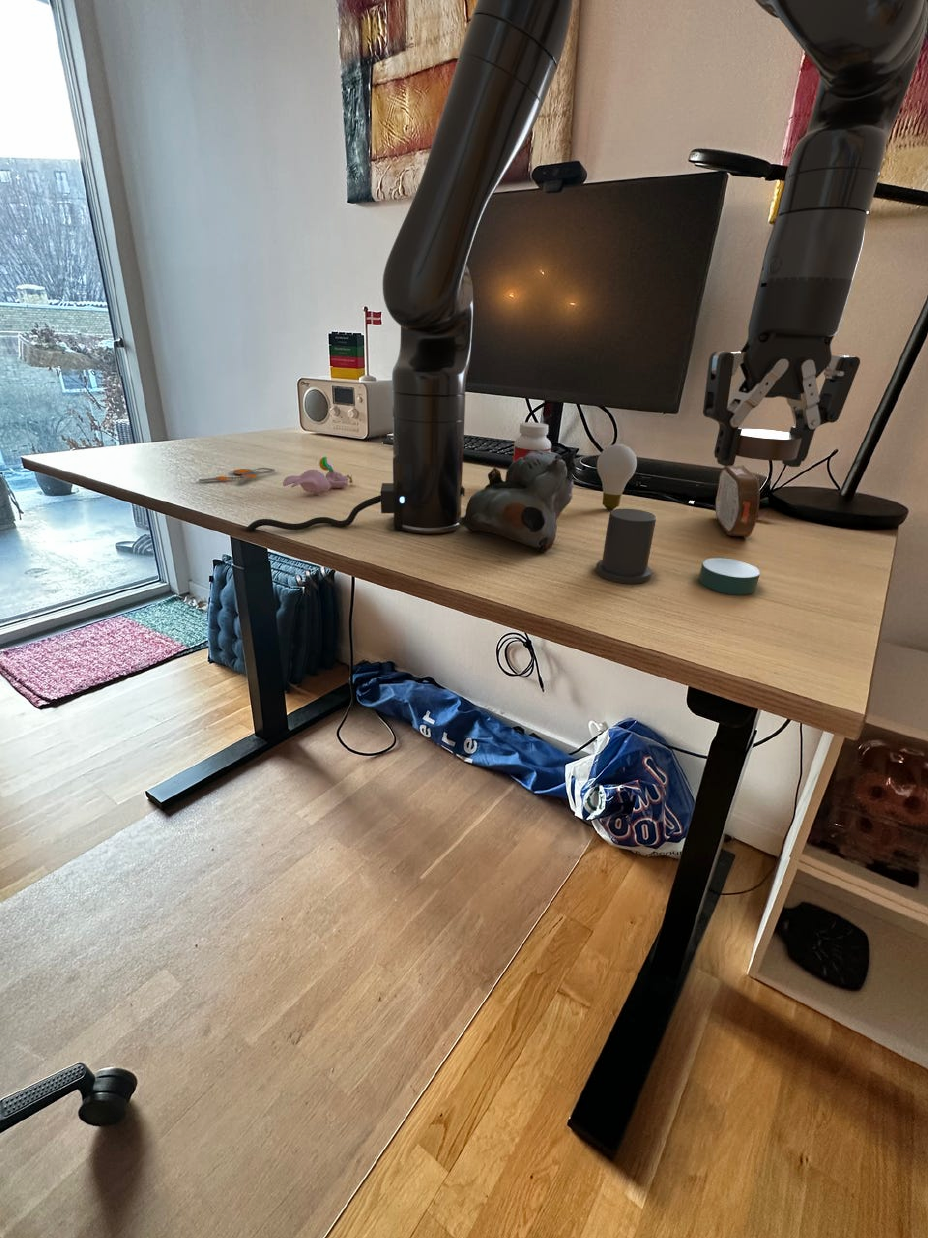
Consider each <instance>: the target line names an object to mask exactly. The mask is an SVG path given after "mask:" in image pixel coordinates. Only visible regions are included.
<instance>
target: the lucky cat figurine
mask: <svg viewBox="0 0 928 1238" xmlns="http://www.w3.org/2000/svg"><path fill="white" fill-rule="evenodd" d="M575 457H576V451H571V452H568V453H566V454H565V455H560V454H558V452H557V453H556V452H554V451H551V452H549V451H541V450H538V451H530V452H529V453H527V454H525V456H524V457H520V458H519V459H518V460H516V461H514V462H513V461H512V463H511V464H510V465H509V466H508V469H507V470H506V473H505V479H504V480H503V478H502V474H501V470H499V469H498V468H496V467H493V468H492V470H490V472H488V474H487V477H488V478H487V479H488V481H489V483H488V484H487V485H485V487H484V488H482V489H480V490H477V491H476V492H474V493H473V494H472V495H471V496H470V498H469V500H468V501H467V503H466V507H465V514H464V516H461V518H460V519H459V520H458V523H459V524H460V525H461V526H462V527H463V528H466V529H467V531H469V532H473V531H480V532H486V533H492V534H496V535H499V536H502V537H505V538H507V539H510V540H512V541H516V542H517V543H521V544H523V545H525V546H526V545H527V546H530V547H533V548H534V549H536V550H538V551H539V552H541V553H547V552H548V551H549V550H550V549H552V547H553V545H554V542H555V540H556V534H557V529H558V528H557V527H558V525H557V521H558V519H559V517H560V515H561V513H562V512H563V511H564V510H565V509H566V507H567V506H568V505H569V504H570V503H571V501H572V499H573V497H574V496H573V488H574V485H575V484H574V483H575V482H574V480H573V476H574V472H575V469H576V463H575Z"/></svg>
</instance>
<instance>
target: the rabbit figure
mask: <svg viewBox="0 0 928 1238" xmlns="http://www.w3.org/2000/svg"><path fill="white" fill-rule="evenodd" d="M327 460H328V457H327V456H323V457H321V458H320V459H319V462H318V465H319V468H320V469H321V470H323V471H326V472H327V473H326V474H324V473H323V472H321V471H320V470H318V469H317V470H316V469H309V470H306V471H304V472H302V473H301V474H299V475H289V476H286V477H285V478H284V479H283V482H282V486H283V487H287V486H290V488H294V487H295V488H296V487H297V486H300V487H301V488H302V490H303V491H305V492H307V493H310V494H311V493H313V496H317V495H318V496H321V495H322V494H323V493H326V492H328V491H329V490H330V489H331V488H332V489H345V488H346V487H347V486H348V484H350V486H352V485H354V481H353V477H352V476H353V474H346V475H343V474H342V473H341V472H338V471H336V470H334V468H333V467H332V466H331V464H329V463H328V461H327Z"/></svg>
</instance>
